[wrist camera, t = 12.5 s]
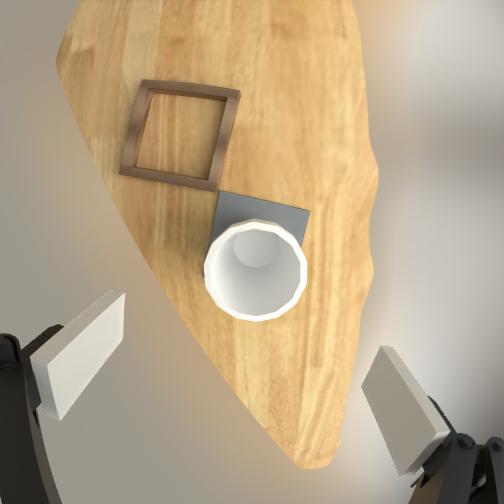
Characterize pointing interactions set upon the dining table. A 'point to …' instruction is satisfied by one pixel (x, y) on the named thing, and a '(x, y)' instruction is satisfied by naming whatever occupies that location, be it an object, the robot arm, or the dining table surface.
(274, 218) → the mat
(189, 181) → the frame
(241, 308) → the foam cup
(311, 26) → the dining table surface
